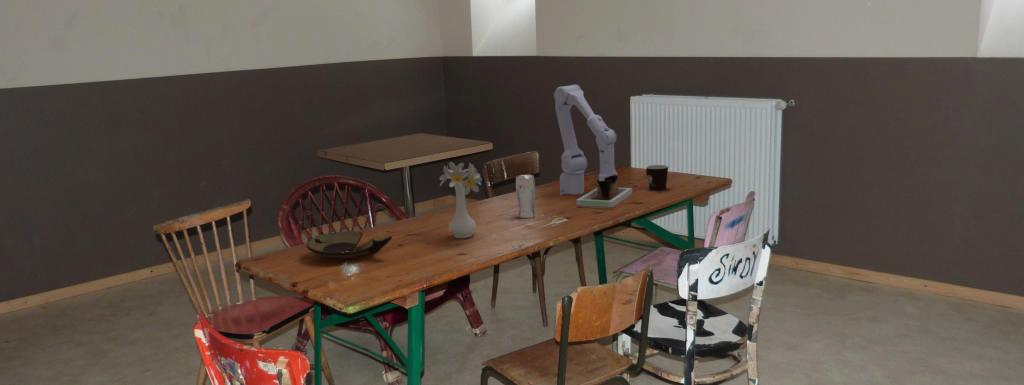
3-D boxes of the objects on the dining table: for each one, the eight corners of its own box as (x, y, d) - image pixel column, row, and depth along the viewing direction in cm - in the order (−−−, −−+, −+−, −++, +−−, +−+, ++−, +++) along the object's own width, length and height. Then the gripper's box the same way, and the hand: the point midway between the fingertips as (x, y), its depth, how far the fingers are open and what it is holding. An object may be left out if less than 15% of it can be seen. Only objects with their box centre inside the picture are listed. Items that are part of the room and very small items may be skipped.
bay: (576, 207, 321) (576, 199, 320) (598, 194, 342) (598, 186, 342) (612, 209, 314) (612, 201, 314) (632, 195, 336) (632, 188, 335)
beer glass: (514, 218, 310) (512, 177, 306) (522, 213, 316) (520, 174, 312) (531, 219, 306) (529, 178, 303) (539, 214, 312) (537, 174, 309)
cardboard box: (597, 198, 331) (596, 184, 329) (601, 195, 335) (601, 182, 334) (614, 199, 327) (614, 185, 326) (618, 196, 332) (618, 182, 331)
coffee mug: (670, 193, 337) (669, 168, 335) (648, 194, 337) (648, 169, 335) (665, 187, 349) (665, 163, 347) (644, 188, 349) (644, 164, 347)
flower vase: (466, 244, 276) (461, 169, 271) (433, 235, 290) (428, 163, 285) (497, 236, 285) (493, 163, 279) (464, 228, 299) (459, 158, 293)
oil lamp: (351, 242, 288) (349, 220, 287) (405, 256, 267) (403, 233, 265) (293, 257, 273) (290, 234, 272) (345, 274, 252) (342, 249, 250)
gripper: (610, 164, 320) (611, 200, 323) (622, 158, 333) (623, 192, 336) (593, 164, 323) (594, 199, 326) (605, 157, 336) (606, 191, 339)
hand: (608, 195), depth 331 cm, fingers closed on cardboard box, 5 cm apart
